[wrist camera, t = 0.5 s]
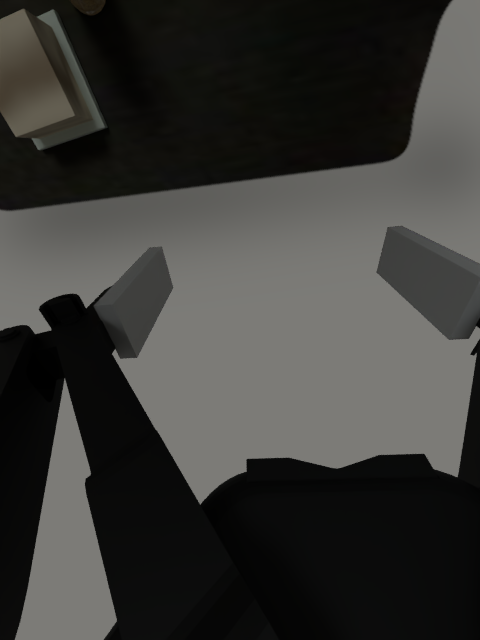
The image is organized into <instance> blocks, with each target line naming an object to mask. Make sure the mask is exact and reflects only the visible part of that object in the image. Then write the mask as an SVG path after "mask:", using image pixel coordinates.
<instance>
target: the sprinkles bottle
mask: <svg viewBox="0 0 480 640" xmlns="http://www.w3.org/2000/svg"><path fill="white" fill-rule="evenodd" d="M69 1H70V2H71V3H72V4H73V5H74V6H75V7H76V8H77V9H78V10H79V11H80V12H82V13H84V14H87V15H96V14H98V12H100V11H101V10H102V8H103V7H104V5H105V1H106V0H69Z"/></svg>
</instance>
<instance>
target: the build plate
mask: <svg viewBox="0 0 480 640" xmlns="http://www.w3.org/2000/svg"><path fill="white" fill-rule="evenodd" d="M37 18H39V19H40V20H42V21H43V22H45V23H46V24H48V25H49V26H51V27H52V29H53V31H54V34H55V36H56V38H57V40H58V42H59V45H60V47H61V49H62V51H63V53H64V56H65V58H66V60H67V62H68V64H69V67H70V69H71V71H72V73H73V75H74V78H75V80H76V82H77V84H78V87H79V89H80V91H81V93H82V95H83V98H84V100H85V102H86V104H87V106H88V109H89V111H90V113H91V115H92V117H93V120H91V121H88V122H86V123H83V124H80V125H77V126H74V127H72V128H69V129H66V130H63V131H60V132H57V133H55V134H52V135H49V136H46V137H43V138H40V139H36V138H32V140H33V141H34V143H35V145H36V147H37V148H38V150H44V149H47V148H50V147H53V146H56V145H59V144H62V143H65V142H68V141H71V140H73V139H76V138H79V137H82V136H85V135H88V134H91V133H94V132H97V131H100V130H102V129H105V128H108V127H107V125H106V122H105V120H104V118H103V115H102V113H101V111H100V108H99V106H98V104H97V102H96V99H95V97H94V95H93V92H92V90H91V88H90V85H89V83H88V81H87V79H86V76H85V74H84V72H83V69H82V67H81V65H80V62H79V60H78V58H77V55H76V53H75V51H74V49H73V46H72V44H71V42H70V39H69V37H68V35H67V32H66V30H65V28H64V26H63V23H62V21H61V19H60V16H59V14H58V13H57V12H56V11H55V10H51V11H49V12H47V13H45V14H42V15H40V16H38V17H37Z"/></svg>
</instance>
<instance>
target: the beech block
mask: <svg viewBox="0 0 480 640" xmlns="http://www.w3.org/2000/svg"><path fill="white" fill-rule="evenodd" d="M0 112H1V113H2V115H3V117H4V118H5V120H6V122H7V123H8V125H9V127H10V128H11V130H12V131H13V133H14V135H15V136H16V137H23V138H36V139H40V138H43V137H46V136H49V135H52V134H55V133H57V132H60V131H63V130H66V129H69V128H72V127H74V126H77V125H80V124H83V123H86V122H88V121H91V120H93V117H92V115H91V113H90V111H89V109H88V106H87V104H86V102H85V100H84V98H83V95H82V93H81V91H80V89H79V87H78V84H77V82H76V80H75V78H74V75H73V73H72V71H71V69H70V67H69V64H68V62H67V60H66V58H65V56H64V53H63V51H62V49H61V47H60V45H59V42H58V40H57V38H56V36H55V34H54V31H53V29H52V27H51V26H49V25H48V24H46V23H45V22H43V21H42V20H40V19H39V18H37V17H36V16H34V15H33V14H31V13H29V12H28V11H26V10H25V9H22V10H20V11H17V12H15V13H13V14H11V15H9V16H6V17H4V18H2V19H0Z"/></svg>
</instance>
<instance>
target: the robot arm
mask: <svg viewBox="0 0 480 640" xmlns="http://www.w3.org/2000/svg"><path fill="white" fill-rule="evenodd" d="M377 273H378V274H379V275H380V276H381V277H382V278H383V279H384V280H385V281H387V282H388V283H389V284H390V285H391V286H392V287H393V288H394V289H395V290H396V291H397V292H398V293H399V294H400V295H402V296H403V297H404V298H405V299H406V300H407V301H408V302H409V303H410V304H411V305H412V306H413V307H414V308H416V309H417V310H418V311H419V312H420V313H421V314H422V315H423V316H424V317H425V318H426V319H427V320H428V321H430V322H431V323H432V324H433V325H434V326H435V327H436V328H437V329H438V330H439V331H440V332H441V333H442V334H443V335H445V336H446V337H447V338H448V339H449V340H453V339H469V337H470V336H471V334H472V332H473V331H474V329H475V327H476V326H477V327H479V328H480V264H479V263H477V262H475V261H473V260H471V259H469V258H467V257H465V256H463V255H461V254H458V253H456V252H454V251H452V250H450V249H448V248H446V247H444V246H442V245H440V244H438V243H436V242H434V241H432V240H430V239H428V238H426V237H423V236H422V235H419V234H417V233H415V232H413V231H411V230H409V229H407V228H405V227H403V226H395V227H388V229H387V233H386V237H385V241H384V245H383V249H382V253H381V257H380V261H379V265H378V269H377ZM172 289H173V285H172V282H171V278H170V275H169V271H168V267H167V264H166V260H165V256H164V253H163V249H162V247H153V248H149V249H148V250H147V251H146V252H145V253H144V254H143V255H142V256H141V257H140V258H139V259H138V260H137V261H136V262H135V263H134V264H133V265H132V266H131V267H130V268H129V269H128V270H127V271H126V273H125V274H124V275H123V276H122V277H121V278H120V279H119V280H118V281H117V282H116V283H115V284H114V285H113V286H111V287H109V288H108V289H106V290H104V291H103V292H102V293H101V294H100V295H99V297H97V298H96V299H95V300H94V302H92V303H91V304H90V305H89V306H88V307H87V308H85V306H84V304H83V302H82V300H81V299H80V297H79V296H78V295H77V294H65V295H61V296H58V297H55V298H53V299H50V300H48V301H46V302H45V303H44V304H42V305H41V306H40V308H39V311H40V312H41V313H42V315H43V317H44V318H45V320H46V321H47V322H48V324H49V325H50V327H51V329H52V330H51V331H47V332H43V333H39V334H34V332H33V331H32V329H31V328H30V327H29V326H27V325H20V326H15V327H11V328H6V329H4V330H3V331H0V640H15V637H16V633H17V630H18V627H19V623H20V619H21V615H22V611H23V606H24V602H25V597H26V593H27V588H28V583H29V577H30V572H31V566H32V560H33V554H34V549H35V543H36V537H37V532H38V526H39V520H40V514H41V509H42V503H43V498H44V492H45V486H46V481H47V475H48V469H49V463H50V458H51V452H52V446H53V440H54V435H55V429H56V423H57V418H58V412H59V407H60V401H61V395H62V390H63V384H64V378H65V380H66V383H67V387H68V390H69V394H70V398H71V401H72V405H73V409H74V412H75V416H76V419H77V423H78V427H79V430H80V434H81V437H82V441H83V445H84V448H85V452H86V455H87V459H88V463H89V466H90V471H91V475H90V476H89V477H88V478H86V482H85V488H86V494H87V498H88V502H89V507H90V511H91V514H92V519H93V523H94V527H95V531H96V535H97V539H98V543H99V548H100V552H101V556H102V560H103V564H104V568H105V572H106V576H107V581H108V585H109V589H110V593H111V597H112V601H113V605H114V609H115V613H116V618H117V622H116V623H115V625H114V626H113V628H112V629H111V631H110V632H109V633H108V635H107V636H106V637H105V639H104V640H480V340H479V341H478V343H477V344H476V346H475V348H474V349H473V351H472V352H471V355H475V354H476V353H477V357H476V363H475V370H474V376H473V384H472V389H471V396H470V403H469V409H468V416H467V422H466V429H465V436H464V442H463V449H462V455H461V462H460V468H459V474H458V477H455V476H452V475H450V474H447V473H444V472H441V471H438V470H434V469H433V468H432V466H431V464H430V463H429V461H428V459H427V458H426V456H425V454H406V455H405V454H404V455H378V456H376V457H372V458H370V459H366V460H363V461H360V462H358V463H355V464H352V465H348V466H346V467H343V468H338V469H335V468H329V467H325V466H321V465H317V464H312V463H309V462H304V461H300V460H296V459H292V458H265V459H247V472H244V473H241V474H238V475H236V476H234V477H232V478H230V479H229V480H227V481H225V482H224V483H223V484H221V485H219V486H218V487H217V488H216V489H215V490H214V491H213V492H211V494H209V496H208V497H207V498H206V499H205V500H204V501H203V502H202V503H201V505H200V504H199V502H198V500H197V499H196V497H195V495H194V494H193V492H192V490H191V489H190V487H189V485H188V483H187V482H186V480H185V478H184V476H183V475H182V473H181V471H180V469H179V468H178V466H177V464H176V463H175V461H174V459H173V457H172V456H171V454H170V452H169V451H168V449H167V447H166V446H165V444H164V442H163V440H162V438H161V437H160V435H159V433H158V432H157V431H156V430H155V428H154V427H153V425H152V423H151V421H150V419H149V417H148V416H147V414H146V412H145V411H144V409H143V407H142V405H141V404H140V402H139V400H138V398H137V397H136V395H135V393H134V391H133V390H132V388H131V386H130V385H129V383H128V381H127V379H126V378H125V376H124V374H123V372H122V371H121V369H120V367H119V365H118V364H117V362H116V360H115V358H114V357H113V355H112V353H113V351H114V350H115V349H116V351H117V353H118V355H119V357H120V358H137V357H138V355H139V353H140V351H141V349H142V347H143V345H144V343H145V341H146V339H147V337H148V335H149V333H150V332H151V330H152V328H153V326H154V324H155V322H156V320H157V317H158V316H159V314H160V312H161V310H162V308H163V306H164V304H165V302H166V300H167V299H168V297H169V295H170V293H171V291H172Z"/></svg>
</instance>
